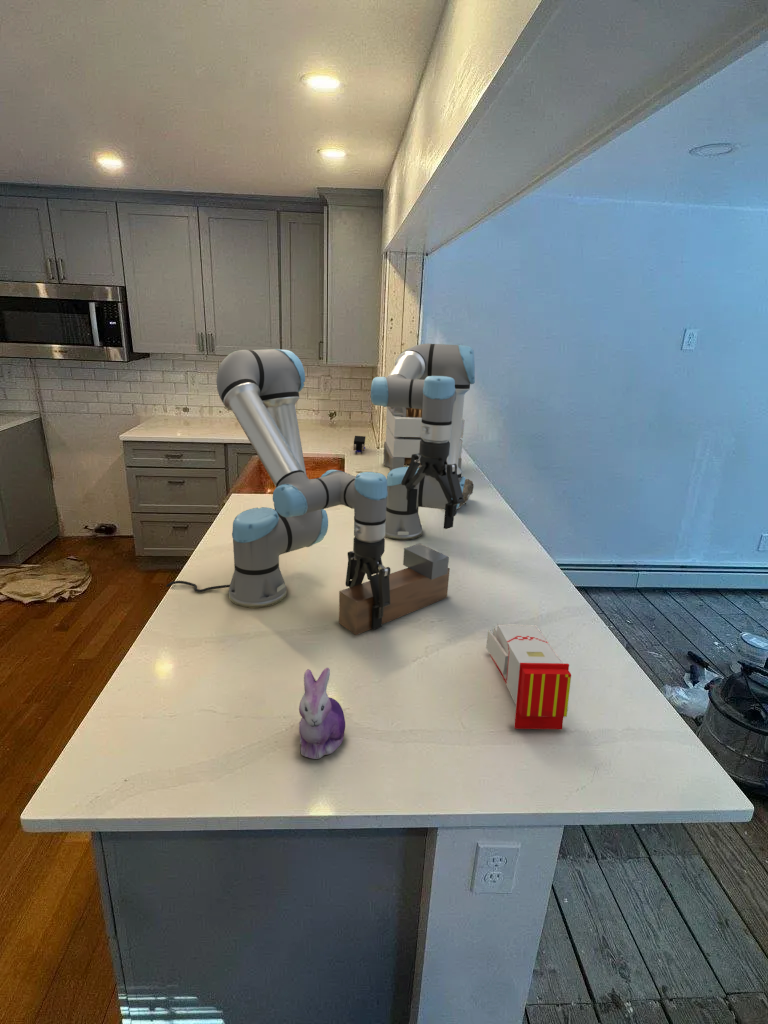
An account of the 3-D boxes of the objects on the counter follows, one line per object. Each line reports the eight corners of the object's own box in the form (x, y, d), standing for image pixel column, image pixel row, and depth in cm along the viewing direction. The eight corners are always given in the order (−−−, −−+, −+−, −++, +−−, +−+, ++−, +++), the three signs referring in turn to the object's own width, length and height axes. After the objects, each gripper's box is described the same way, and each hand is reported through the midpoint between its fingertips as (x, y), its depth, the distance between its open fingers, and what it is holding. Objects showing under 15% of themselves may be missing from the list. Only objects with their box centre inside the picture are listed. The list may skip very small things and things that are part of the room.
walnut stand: (338, 623, 142) (339, 591, 139) (429, 588, 162) (431, 559, 159) (355, 635, 137) (356, 602, 134) (447, 597, 157) (449, 568, 154)
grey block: (403, 565, 155) (404, 548, 153) (418, 559, 158) (419, 543, 157) (431, 579, 147) (433, 562, 145) (447, 573, 151) (449, 556, 149)
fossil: (437, 485, 243) (466, 466, 238) (450, 501, 245) (479, 483, 240) (436, 507, 223) (469, 487, 218) (450, 525, 226) (482, 505, 221)
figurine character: (365, 457, 304) (365, 447, 318) (365, 443, 301) (365, 434, 315) (352, 456, 304) (353, 447, 318) (352, 443, 301) (353, 434, 314)
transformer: (382, 463, 289) (386, 382, 275) (445, 464, 293) (451, 384, 279) (390, 482, 257) (394, 392, 243) (460, 483, 261) (468, 394, 247)
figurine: (306, 770, 97) (306, 697, 91) (287, 731, 105) (286, 662, 100) (357, 752, 101) (359, 682, 96) (334, 717, 109) (335, 650, 104)
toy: (533, 609, 133) (580, 670, 104) (528, 661, 136) (573, 736, 107) (482, 608, 133) (514, 669, 103) (478, 661, 135) (509, 735, 106)
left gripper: (331, 527, 140) (330, 609, 148) (385, 555, 126) (380, 643, 134) (355, 521, 145) (353, 600, 153) (409, 547, 131) (404, 633, 138)
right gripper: (390, 432, 148) (387, 509, 155) (462, 452, 130) (454, 537, 137) (411, 429, 152) (407, 504, 159) (483, 448, 135) (475, 531, 142)
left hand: (366, 620), depth 143 cm, fingers open, 7 cm apart
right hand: (429, 520), depth 148 cm, fingers open, 13 cm apart
